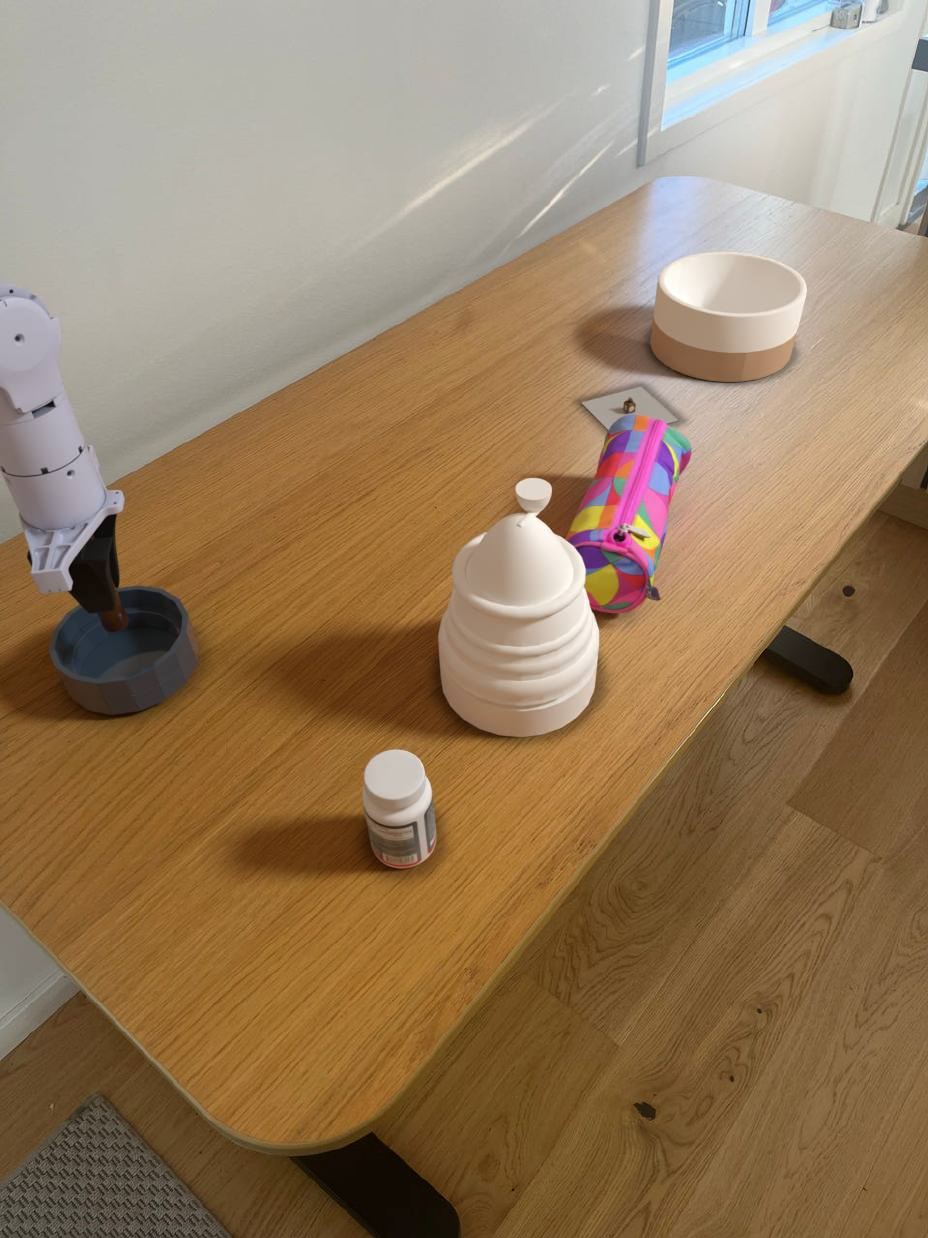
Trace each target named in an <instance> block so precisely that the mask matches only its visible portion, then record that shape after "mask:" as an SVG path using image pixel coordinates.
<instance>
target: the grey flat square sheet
mask: <svg viewBox="0 0 928 1238" xmlns="http://www.w3.org/2000/svg"><path fill="white" fill-rule="evenodd" d="M581 405H582V406H584V408H585V409H587V410H588V411H589V412H590V414H591V415H593V417H594V418H596V419H597V420H598V422H599V423H601V425H602V426H603V427H604V428H605V429H606V430H607V431H608V430H609V429H610V427H611V426H612V424H613V423H614V422H615V421H617V420H618V419H619V418H621V417H623V416H626V415H642V416H647V417H650V418H652V419H654V420H657V419H659V420H663V423H665V424H667V425H668V424H670V423H674V422H678V421H679V419H678V418H676V417H675V416H674V414H672V413H671V412H670V411H669V410H667V408H665V406H664V405H662V404H661V403H660V402H659V401H658V400H657V399H655V398H654V397H653V396H652V395H651V393H649V392H648V391H646V389H644V387H642V386H637V387H633V388H630V389H627V390H623V391H619V392H616V393H611V394H608V395H605V396H600V397H597V398H593V399H590V400H585V401H582V402H581Z"/></svg>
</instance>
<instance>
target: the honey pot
mask: <svg viewBox="0 0 928 1238" xmlns="http://www.w3.org/2000/svg"><path fill="white" fill-rule="evenodd" d="M552 492H553V487H552V485H551V484H550V482H548V481H547V480H545V479H543V478H538V477H530V478H529V477H528V478H524V479H522V480H520V481H519V482H518V483H517V484H516V485H515V496H516V500H517V503H518V505H519V506H520V507H521V509H523V510H524V511H525V512H515V513H512V514H511V513H510V514H508V515H506V516H504V517H502V518H500V520H498V521H497V522H496V523H494V524H493V526H491V528H489V530H488V531H485V532H482V533H481V534H478V535H477V536H475V537H473V538H472V539H470V540H469V541H468V542H467V543H465V544H464V545H463V546H462V547H461V548H460V549H459V551H458V553H457V554H456V556H455V557H454V559H453V564H452V569H451V578H452V584H453V589H452V590H451V593H450V599H449V601H448V602H447V603H448V604H447V606H446V607H447V608H446V610H445V611H444V613H443V614H442V617H441V621H440V625H439V629H438V635H437V639H438V640H437V641H438V656H439V657H438V658H439V669H440V670H439V672H440V680H441V681H440V682H441V687H442V689H441V690H442V693H443V695H444V697H445V699H446V700H447V703H448V705H449V706H450V708H451V709H452V710H453V711H454V712H455V713H456V714H457V715H458V716H459V717H460V718H461V719H462V720H464V721H465V722H467V723H469V724H470V725H472V726H474V727H475V728H477V729H479V730H481V731H484V732H487V733H491V734H494V735H497V736H503V737H514V738H526V737H535V736H542V735H545V734H548V733H551V732H553V731H556V730H559V729H561V728H563V727H565V726H566V725H568V724H569V723H571V722H572V721H574V720H576V719H577V718H578V717H579V716H580V715H581V714H582V712H583V711H584V710H585V709H586V708H587V707H588V706H589V704H590V701H591V698H592V696H593V694H594V691H595V686H596V678H597V670H598V669H597V668H598V658H599V650H600V629H599V626H598V623H597V620H596V616H595V614H594V612H593V610H592V609H591V608H590V605H589V599H588V596H587V593H586V590H585V588H584V584H585V576H586V568H585V565H584V562H583V559H582V557H581V555H580V554H579V553H578V551H577V550H576V549H575V548H574V546H573V545H571V544H570V543H569V542H567V541H566V540H565V538H563V537H562V536H560V535H558V534H556V533H554V531H552V529H551V528H550V527H549V526H548V525H547V524H546V523H545V522H543V521H542V520H541V519H540V518H538V517H537V516H538V515H539V514H540V512H542V511H543V510H545V508H546V507H547V506H548V504H549V502H550V500H551V497H552V494H553V493H552Z"/></svg>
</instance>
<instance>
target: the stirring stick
mask: <svg viewBox="0 0 928 1238" xmlns="http://www.w3.org/2000/svg"><path fill="white" fill-rule="evenodd" d="M89 539H95V536H94V534H92V536H91V537H90V538H89ZM112 581H113V580H112ZM113 585H114V582H113ZM114 590H115V596H116V605H115V610H113V611H107V612H98V613H97V614H98V616H99V619H100V621H101V623H102V625H103V628H104V629H105V630H106V631H108V632H118V631H120V630H122V629H124V628H125V627H126V626H127V625H128V622H129V619H128V616H127V614H126V612H125V609H124V607H123V604H122V602H121V599H120V597H119V595H118V592H117V590H116V587H115V585H114Z"/></svg>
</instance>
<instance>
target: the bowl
mask: <svg viewBox="0 0 928 1238" xmlns="http://www.w3.org/2000/svg"><path fill="white" fill-rule="evenodd" d="M807 294H808V289H807V283H806V281H805V279H804V278H803V276H802V275H801V274H800V273H799V272H798V271H796V270H795V269H793V268H792V267H790V266H789V265H787V264H784V263H782V262H780V261H778V260H775V259H773V258H769V257H767V256H762V255H758V254H753V253H748V252H747V253H746V252H739V251H708V252H707V251H706V252H699V253H693V254H690V255H685V256H682V257H681V258H676V259H675V260H673V261H671V262H669V263H667V264H666V266H664V267H663V268H662V269H661V270H660V273H659V274H658V276H657V283H656V290H655V297H654V298H655V300H654V308H653V315H652V316H653V317H652V325H651V335H650V342H649V344H650V347H651V351H652V353H653V355H654V356H655V357H656V358H657V359H658V360H659V361H660V362H661V363H662V364H663V365H664V366H666V367H668V368H669V369H671V370H673V371H675V372H677V373H680V374H682V375H685V376H688V377H692V378H695V379H699V380H705V381H709V382H720V383H740V382H750V381H755V380H759V379H763V378H767V377H769V376H771V375H774V374H776V373H778V372H779V371H780V370H782V369H783V368H784V367H785V366H786V365H787V364H788V363H789V361H790V359H791V358H792V357H791V356H792V353H793V350H794V345H795V342H796V337H797V333H798V329H799V326H800V322H801V319H802V315H803V310H804V306H805V302H806V298H807Z"/></svg>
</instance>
